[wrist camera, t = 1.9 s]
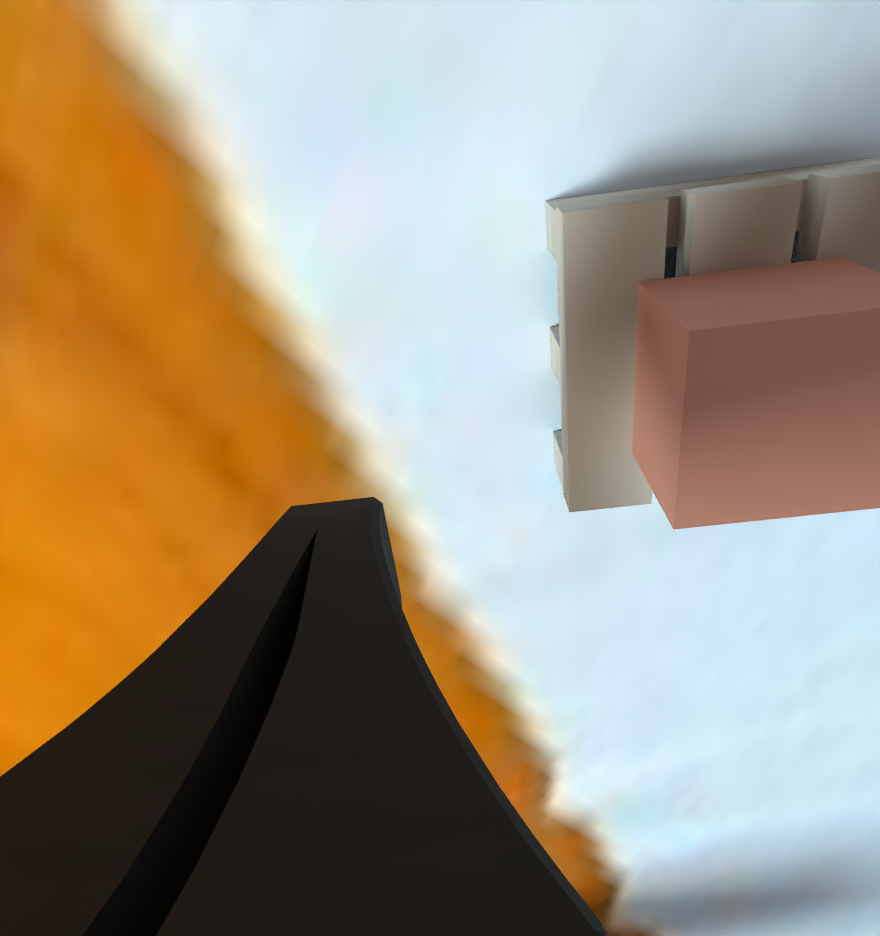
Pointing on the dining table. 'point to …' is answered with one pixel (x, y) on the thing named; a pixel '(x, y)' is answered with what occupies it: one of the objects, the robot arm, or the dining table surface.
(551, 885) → the robot arm
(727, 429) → the salmon pink block
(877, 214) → the pallet
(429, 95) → the dining table surface
